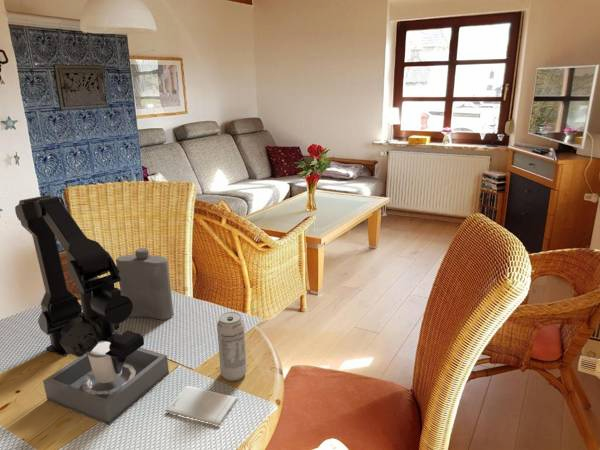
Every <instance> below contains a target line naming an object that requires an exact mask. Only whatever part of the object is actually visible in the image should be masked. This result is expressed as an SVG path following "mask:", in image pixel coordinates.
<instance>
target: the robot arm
mask: <svg viewBox="0 0 600 450" xmlns="http://www.w3.org/2000/svg"><path fill="white" fill-rule="evenodd" d="M14 211H15V215H16V217H17V219H18V221H19V222H20V225H21V226H22V227H23V228H24V229H25V230H26V231H27V232H28V233H29V234H30V235H31V236H32V240H33V244H34V248H35V252H36V256H37V261H38V264H39V269H40V270H39V271H40V274H41V278H42V282H43V286H44V291H45V293H44V295H43V297H42V299H41V302H40V307H41V312H40V315H39V317H38V320H37V321H38V322H37V323H38V325H39V329H40V330H41V331H42V332H43V333H44V334H45V335H47V336H49V341H50V345H48V346H47V347H46V348H45V349H46V351H47V352H51V353H54V354H56V355H60V356H65V355H67V354H68V355H71V356H72V355H73V356H75V357H77V358H79V357H81V356H83V355H84V354H85V353H86V354H87V352H91V351H92V350H93V349H94V348H95V346H96V345H97V344H98V342H105V341H107V342H110V345H109V349H110V351H108V352H107V353H105V354H106V355H109V356H111V358H112V362H113V366H114V370H115V372H116V374H119V373H120V372H121V370H122V367H123V365H124V362H125V359H126V357H127V356H129V355H130V354H132V353H133V352H134V351H136V350H137V349H138V348H140V347H141V348H142V347H143V346H144V345H145V339H144V335H143V334H142V333H138V332H135V331H132V330H129V329H127V330H125V331H124V332H122V333H121V334H120V333H118V332H116V331H117V330H118V329H120V324H121V323H123V322H125V321H127V319H128V318H130V317H129V316H130V314H131V312H132V308H133V304H132V302H131V300H130V299H129V298H128V297H127V296H125V295H123V294H122V293H121V291H120V288H118V287H115V284H116V283H119V281H121V278H120V276H119V273H120V271H119V270H118V268H117V265H116V262H115V261H114V259H113V258H112V256H111V254H110V253H109V252H108V251H107V250H106V249H105V248H104V247H103V246H102V245H101V244H100V243H99V242H98V241H96V240H93V239H91V238H88V237H87V236H86V234H85V233H84V231H83V230H82V229H81V227H80V226H79V225H78V223H77V222H76V221H75V219H74V218H73V216H72V215H71V214H70V212H69V211H68V209H67V208H66V204H65V202H64V200H63V198H62V196H56V195H55V196H51V195H49V194H47V195H46V194H45V195H41V196H35V197H32V198H31V197H30V198H25V199H20V200H19V202H18V204H17V205H16V206H15V207H14ZM57 241H58V242H59V243H60V245H61V247H62V248H63V249H64V251H65V254H66V255H67V256H66V257H67V258H66V266H67V271H68V272H67V273H68V274H69V276H70V278H71V279H72V280H73V282H74V284H75V286H76V287H77V289H78V293H79V294H78V295H79V299H80V302H79V300H78V297H77V296H76V295H75V294H73V293H72V292H71V291H70V290H69V289H68V287H67V283H66V278H65V274H64V269H63V265H62V259H61V256H60V252H59V247H58V242H57ZM108 273H109V274H108ZM104 275H105V276H104ZM100 276H102V277H100ZM87 356H88V354H87Z"/></svg>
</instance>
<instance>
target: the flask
mask: <svg viewBox="0 0 600 450" xmlns="http://www.w3.org/2000/svg"><path fill="white" fill-rule="evenodd" d="M149 253H150V252H149V249H147V248H146V247H143V248H137V249H136V250H135V251H134V254H123V255H120V256H118V257H117V258H116V259H115V264H116V266H117V268H118V270H119V271H120V273H119V276H120V278H121V281H119V282H118V283H119V289H120V291H121V293H122V294H123V295H125V296H127V297H128V298H129V299H130V300H131V302H132V304H133V308H132V312H131V314H130V316H129V317H128V318H148V317H149V319H155V320H159V319H160V321H166V320H169V319H171V318H172V317H173V316H174V305H173V298H172V297H173V296H172V289H171V288H172V287H171V280H170V270H169V269H170V268H169V261H168V258H167V257H165V256H160V255H153V254H149ZM171 316H172V317H171ZM170 317H171V318H170ZM168 318H169V319H168ZM165 319H166V320H165Z"/></svg>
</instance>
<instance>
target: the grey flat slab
mask: <svg viewBox="0 0 600 450" xmlns="http://www.w3.org/2000/svg"><path fill="white" fill-rule="evenodd" d="M238 401H239V399H238V397H237V396H233V395H228V394H225V393H220V392H216V391H212V390H207V389H202V388H199V387H194V386H190V385H186V386H185V387H184V388H183V389H182V390H181V391H180V393H179V394H178V395H177V396H176V397H175V398H174V399H173V401H172V402H171V403H170V404H169V405H168V406H167V407H166V409H165V413H166V412H168V413H171V414H176V415H181V416H184V417H189V418H193V419H197V420H200V421H204V422H208V423H211V424H215V425H218V426H220V425H221V426H222V424H223V423H224V421H225V420H226V419H227V417H228V416H227V415H229V414H230V413H231V411H232V410H233V408H234V407H235V405H236V404H237V403H238ZM229 412H230V413H229ZM171 414H170V415H171ZM226 416H227V417H226ZM224 419H225V420H224ZM222 422H223V423H222ZM221 423H222V424H221ZM218 426H217V427H218ZM221 426H220V427H221Z"/></svg>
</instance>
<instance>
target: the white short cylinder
mask: <svg viewBox="0 0 600 450" xmlns="http://www.w3.org/2000/svg"><path fill="white" fill-rule="evenodd" d="M109 345H110V342H107V341H105V342H98V344H97V345H96V346H95V348H94V349H93V350H92V351H91V352H87V354H88V357H89V361H90V364H91V367H92V370H93V374H94V377H95V380H96V381H97V382H99V383H108V382H111V381H114V380H116V379H118V378H119V377H120V376H121V374H122V370H121V372H120V373H119V374H116V372H115V370H114V366H113V362H112V358H111V356H109V355H106V354H105V353H107V352H108V351H110V349H109Z"/></svg>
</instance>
